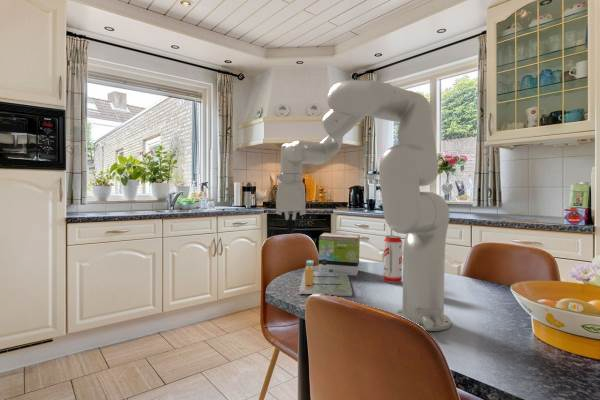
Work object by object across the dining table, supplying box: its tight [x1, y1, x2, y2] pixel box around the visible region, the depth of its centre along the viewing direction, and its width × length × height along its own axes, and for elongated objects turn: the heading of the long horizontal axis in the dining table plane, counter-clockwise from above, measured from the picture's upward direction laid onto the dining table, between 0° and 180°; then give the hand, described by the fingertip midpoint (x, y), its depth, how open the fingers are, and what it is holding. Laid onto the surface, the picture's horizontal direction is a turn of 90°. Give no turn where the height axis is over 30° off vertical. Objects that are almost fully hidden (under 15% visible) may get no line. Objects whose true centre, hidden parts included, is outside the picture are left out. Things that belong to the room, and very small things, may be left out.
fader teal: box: [305, 259, 315, 275], centre depth 122 cm, size 4×2×5 cm, turn 176°
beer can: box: [382, 234, 403, 285], centre depth 121 cm, size 6×6×16 cm
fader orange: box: [304, 265, 313, 285], centre depth 112 cm, size 4×2×5 cm, turn 176°
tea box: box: [318, 232, 361, 277], centre depth 135 cm, size 15×10×15 cm
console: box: [298, 270, 353, 297], centre depth 117 cm, size 24×16×2 cm, turn 176°
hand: (290, 230), depth 122 cm, fingers closed
